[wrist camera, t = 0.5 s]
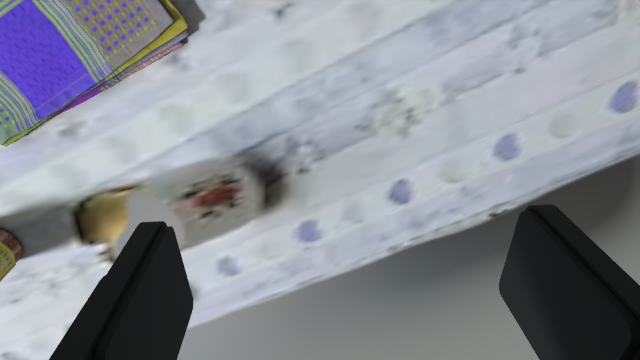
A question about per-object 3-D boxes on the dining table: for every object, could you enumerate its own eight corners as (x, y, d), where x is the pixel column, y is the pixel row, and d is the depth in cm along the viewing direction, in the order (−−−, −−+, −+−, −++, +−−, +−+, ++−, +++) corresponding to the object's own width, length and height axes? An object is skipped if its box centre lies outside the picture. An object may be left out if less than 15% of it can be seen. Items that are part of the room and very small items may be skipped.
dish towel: (-163, -22, 31) (-201, -21, 29) (54, -198, 26) (30, -214, 24) (11, 145, 39) (-7, 157, 37) (201, 34, 35) (194, 39, 32)
